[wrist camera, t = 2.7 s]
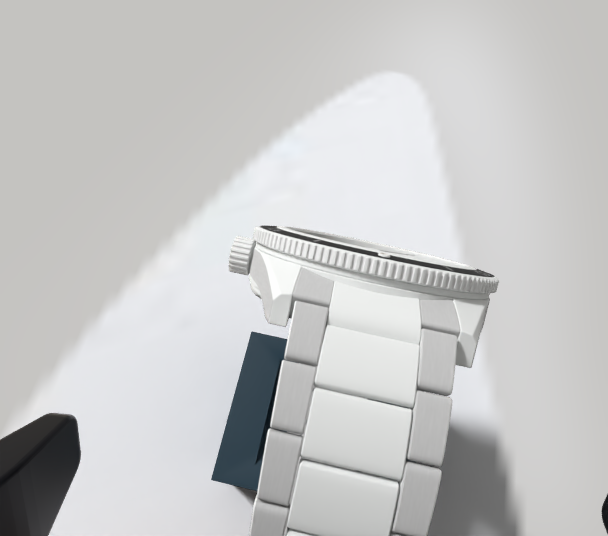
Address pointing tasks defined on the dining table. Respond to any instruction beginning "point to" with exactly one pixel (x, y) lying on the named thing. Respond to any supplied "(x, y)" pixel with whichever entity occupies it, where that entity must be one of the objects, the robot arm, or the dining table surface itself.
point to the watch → (348, 382)
